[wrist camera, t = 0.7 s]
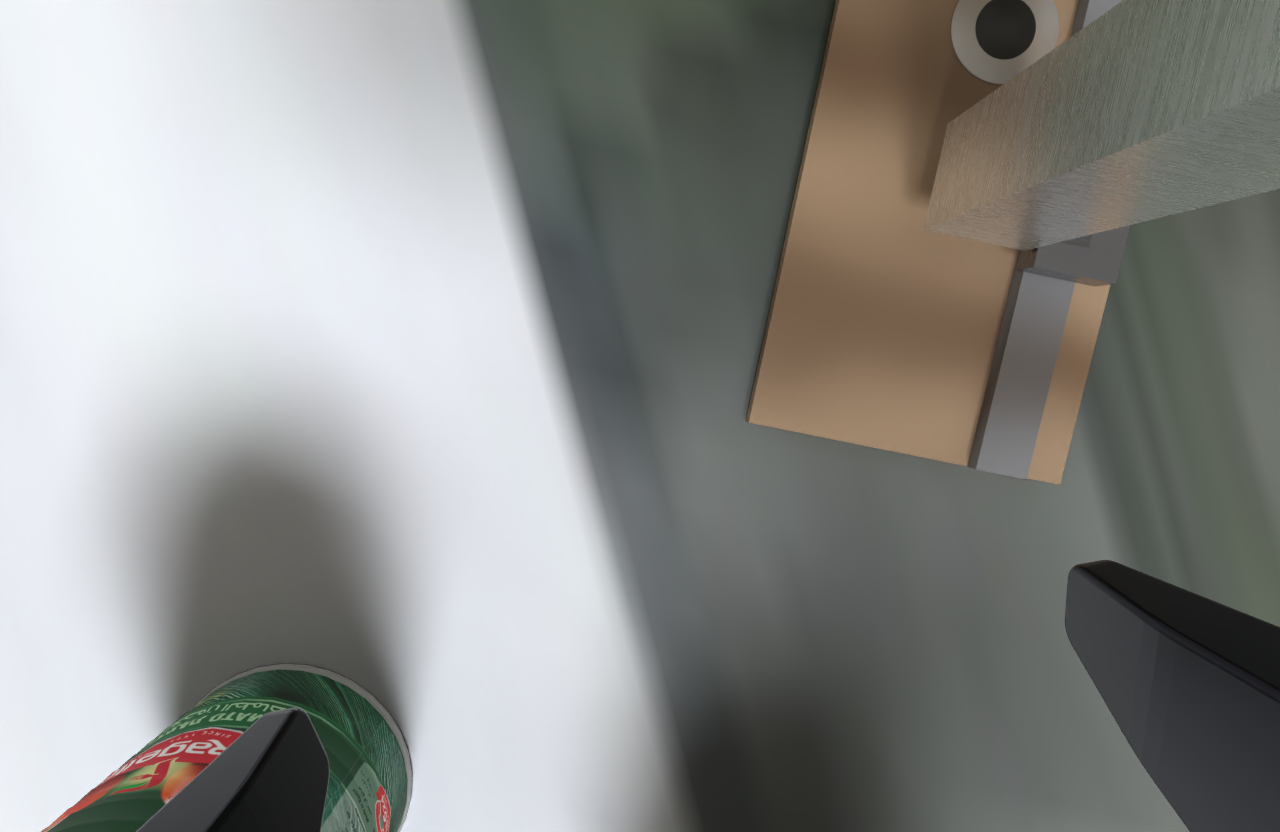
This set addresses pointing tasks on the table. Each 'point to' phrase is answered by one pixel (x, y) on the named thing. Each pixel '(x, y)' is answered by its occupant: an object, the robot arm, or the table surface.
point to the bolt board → (920, 255)
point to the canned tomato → (338, 708)
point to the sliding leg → (1117, 135)
